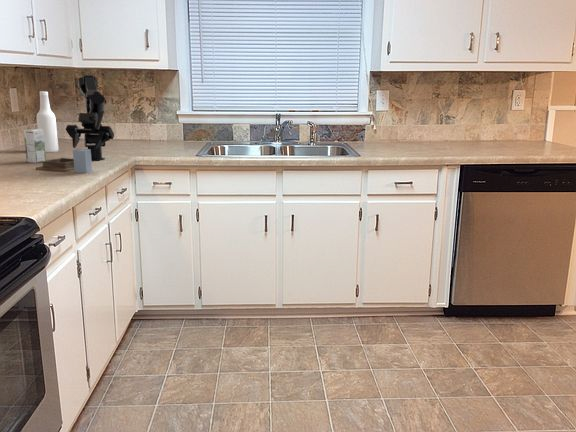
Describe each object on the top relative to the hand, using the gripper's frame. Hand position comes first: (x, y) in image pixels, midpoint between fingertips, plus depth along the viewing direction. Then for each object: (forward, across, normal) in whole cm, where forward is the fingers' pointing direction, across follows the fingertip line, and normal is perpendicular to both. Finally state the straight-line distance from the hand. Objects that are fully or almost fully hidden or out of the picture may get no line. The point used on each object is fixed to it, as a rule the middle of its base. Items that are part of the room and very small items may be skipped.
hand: (84, 147), depth 209 cm
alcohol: (-29, -44, +42) cm, 68 cm away
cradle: (+3, -12, +10) cm, 16 cm away
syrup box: (-6, -32, +19) cm, 37 cm away
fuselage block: (+8, 0, +5) cm, 10 cm away
